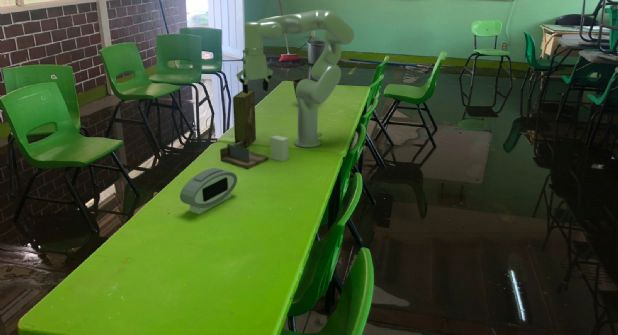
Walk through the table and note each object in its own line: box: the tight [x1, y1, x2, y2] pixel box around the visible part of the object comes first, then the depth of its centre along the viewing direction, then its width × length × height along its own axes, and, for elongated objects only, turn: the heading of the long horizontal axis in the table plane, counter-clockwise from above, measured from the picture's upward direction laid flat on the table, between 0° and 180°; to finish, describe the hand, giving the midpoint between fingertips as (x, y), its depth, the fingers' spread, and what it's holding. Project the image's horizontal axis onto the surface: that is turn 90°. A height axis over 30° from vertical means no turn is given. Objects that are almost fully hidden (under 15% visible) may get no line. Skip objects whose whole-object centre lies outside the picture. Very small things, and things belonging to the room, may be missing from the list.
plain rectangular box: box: [269, 134, 289, 163], centre depth 214 cm, size 4×7×10 cm, turn 54°
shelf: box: [219, 141, 270, 170], centre depth 212 cm, size 14×16×8 cm
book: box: [232, 89, 257, 149], centre depth 230 cm, size 16×6×25 cm, turn 168°
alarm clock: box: [179, 167, 238, 215], centre depth 171 cm, size 23×6×13 cm, turn 148°
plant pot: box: [292, 78, 318, 103], centre depth 297 cm, size 15×15×16 cm
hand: (255, 91), depth 209 cm, fingers open, 9 cm apart
